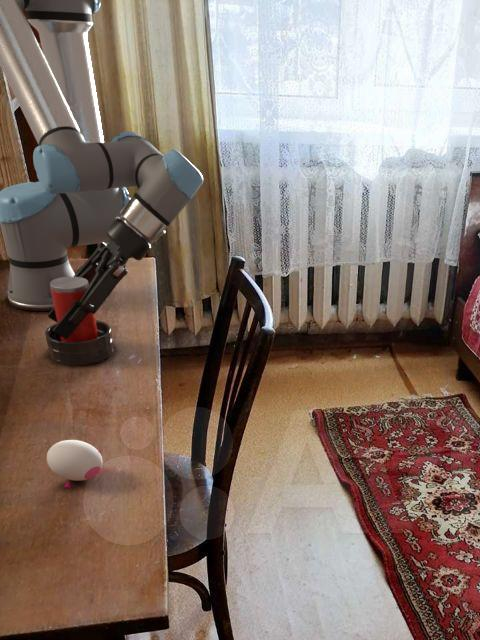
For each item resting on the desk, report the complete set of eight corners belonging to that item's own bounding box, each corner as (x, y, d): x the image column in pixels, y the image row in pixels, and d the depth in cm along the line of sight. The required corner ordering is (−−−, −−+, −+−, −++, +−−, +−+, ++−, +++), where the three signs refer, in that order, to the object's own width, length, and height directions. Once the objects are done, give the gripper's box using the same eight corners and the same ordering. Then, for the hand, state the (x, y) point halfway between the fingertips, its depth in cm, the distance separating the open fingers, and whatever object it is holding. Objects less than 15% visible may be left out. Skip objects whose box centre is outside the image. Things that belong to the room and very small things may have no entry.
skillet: (69, 337, 131) (65, 315, 129) (124, 344, 130) (120, 323, 128) (37, 361, 122) (32, 338, 119) (96, 369, 121) (91, 346, 118)
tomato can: (73, 333, 128) (61, 274, 121) (105, 337, 127) (95, 278, 121) (54, 346, 123) (41, 286, 116) (88, 351, 122) (77, 290, 115)
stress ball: (111, 492, 97) (120, 447, 97) (83, 493, 89) (93, 444, 89) (63, 481, 97) (72, 437, 97) (31, 481, 90) (41, 433, 89)
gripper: (165, 260, 115) (83, 360, 117) (140, 230, 128) (66, 320, 131) (130, 230, 109) (44, 336, 112) (107, 202, 123) (32, 297, 126)
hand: (56, 327), depth 121 cm, fingers closed on tomato can, 7 cm apart
